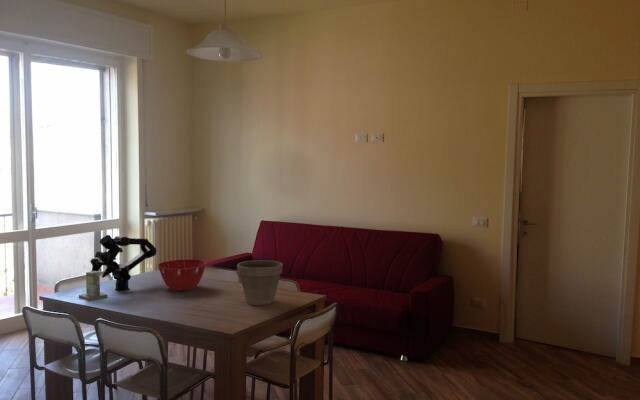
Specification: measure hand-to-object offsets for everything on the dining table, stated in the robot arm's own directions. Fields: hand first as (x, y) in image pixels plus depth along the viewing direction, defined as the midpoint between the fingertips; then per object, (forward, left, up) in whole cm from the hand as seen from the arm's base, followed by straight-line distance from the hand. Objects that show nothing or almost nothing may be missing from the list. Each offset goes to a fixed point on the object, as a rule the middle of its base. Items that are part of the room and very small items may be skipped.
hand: (96, 276), depth 315 cm
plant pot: (-50, +81, -12) cm, 96 cm away
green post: (+3, +1, -10) cm, 10 cm away
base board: (+3, +1, -12) cm, 12 cm away
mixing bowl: (-43, +22, -12) cm, 50 cm away
